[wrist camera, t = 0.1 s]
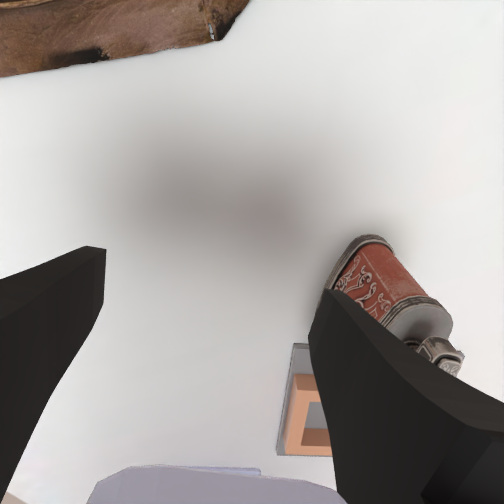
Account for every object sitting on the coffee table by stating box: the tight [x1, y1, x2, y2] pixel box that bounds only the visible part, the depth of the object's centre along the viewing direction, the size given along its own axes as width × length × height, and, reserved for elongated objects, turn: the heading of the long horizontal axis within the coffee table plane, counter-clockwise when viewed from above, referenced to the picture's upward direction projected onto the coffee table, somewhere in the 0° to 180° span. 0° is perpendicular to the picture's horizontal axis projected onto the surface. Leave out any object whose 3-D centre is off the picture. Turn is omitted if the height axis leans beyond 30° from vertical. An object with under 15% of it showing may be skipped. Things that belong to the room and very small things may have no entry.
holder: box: [276, 344, 465, 457], centre depth 27 cm, size 11×12×2 cm
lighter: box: [315, 234, 463, 377], centre depth 19 cm, size 8×3×10 cm, turn 163°
